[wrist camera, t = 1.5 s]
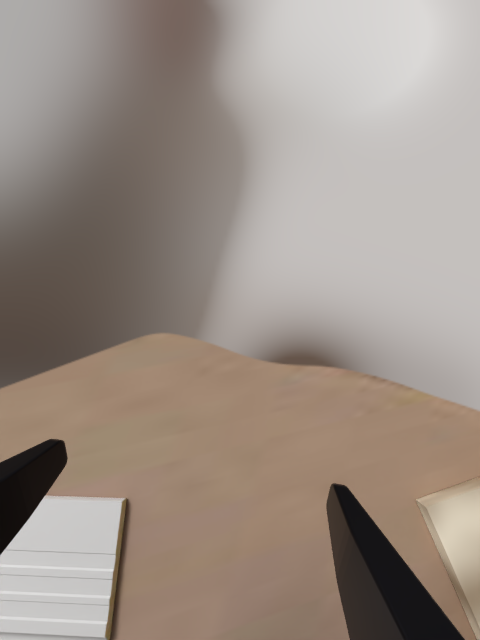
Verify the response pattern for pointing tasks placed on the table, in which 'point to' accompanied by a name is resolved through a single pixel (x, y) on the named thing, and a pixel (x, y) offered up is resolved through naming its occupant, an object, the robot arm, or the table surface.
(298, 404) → the table surface
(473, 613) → the board
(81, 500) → the baseboard molding
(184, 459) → the table surface
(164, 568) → the table surface
